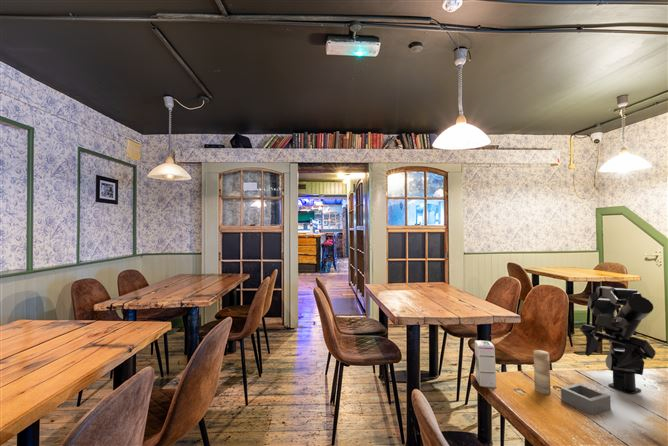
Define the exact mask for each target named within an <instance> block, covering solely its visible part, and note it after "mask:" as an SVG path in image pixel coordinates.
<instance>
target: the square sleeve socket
mask: <svg viewBox="0 0 668 446" xmlns="http://www.w3.org/2000/svg"><path fill="white" fill-rule="evenodd" d="M560 400H561V401H562V402H564V403H566V404H568V405H570V406H573V407H574V408H577V409H578V410H581V411H583V412H585V413H587V414H589V415H593V416H594V415H596V414H599V413H603V412H606V411H609V410H612V408H611V407H612V404H611V403H612V402H611V395H610V394H607V393H604V392H602V391H599V390H597V389H595V388H592V387H589V386H587V385H584V384H582V383H580V382H577V383H575V384H574V383H573V384H570V385H565V386H562V387H560Z"/></svg>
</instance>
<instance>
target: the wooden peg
mask: <svg viewBox="0 0 668 446" xmlns="http://www.w3.org/2000/svg"><path fill="white" fill-rule="evenodd" d="M550 367H551V366H550V353H549V352H548V351H546V350H542V349H535V350H533V372H534V375H533V376H534V390H535V391H536V392H538V393H540V394H544V395H550V394H551V369H550Z"/></svg>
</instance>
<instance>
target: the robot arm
mask: <svg viewBox="0 0 668 446" xmlns="http://www.w3.org/2000/svg"><path fill="white" fill-rule="evenodd" d="M587 305H588V306H587V307H588V309H589V310H590V311H591V313H592V314H593V315H594V316H595V317H596V320H595V323H594V325H589V324H586V323H585V324H581V326H580V328H579V330H580V332H581V333H582V334H583V335H584V336H585V337H586V338H585V339H586V345H585V355H586V356H587V357H590V356H591V355H592V354H594V352H595V351H596V349H598V348H599V346H600V345H601V342H602V341H603V340H605V341H608V342H609V344H610V347H609V351H608V353H607V355H606V358H605V366H606V368H607V369H608V370H609V371H610V372H611V371H612V383H608V384H607V386H609V387H611V388H614V389H616V390H618V391H621V392H624V393H627V394H629V395H631V394H635V393H639V392H642V389H641V388H639V387H636V375H640V376H643V375H644V369H645V361H644V360H647V359H651V360H652V359H654V358H655V356H656V353H657V352H656V350H655V348H653V346H652V344H650V343H649V341H648V340H646V339H643V338H639V337H637V335H638V332H637V329H638V327H639V325H640V323H641V322H642V321H643V320H644V319H646V318H647V316H648V315H650V313H651V312H652V311H653V310H654V304H653V303H652V302H651V301H650V300H649V299H648V298H646V297H644V296H643V295H642V293H640V292H639V291H638V290H637V289H635V288H623V287H612V286H601V285H600V286H597V287H596V289H595V291H594V292H592V293H591V294H589V296H588V300H587ZM618 306H621V307H620V309H619V310H618V312H617V314H616V311H617V308H618ZM615 314H616V315H615ZM595 325H598V326H600V327H601V330H602V331H603V332H601V331H600V330H599V329H598V328H597V326H595ZM635 336H636V337H635Z"/></svg>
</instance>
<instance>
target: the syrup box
mask: <svg viewBox="0 0 668 446" xmlns="http://www.w3.org/2000/svg"><path fill="white" fill-rule="evenodd" d="M495 353H496V349H495V346H494V344H493V343H492V342H491V341H490V340H481V339H480V340H474V358H475V360H474V362H475V365H474V366H475V380H476V382H477V383H478V385H479V387H485V388H497V371H496V370H497V369H496V354H495Z"/></svg>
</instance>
